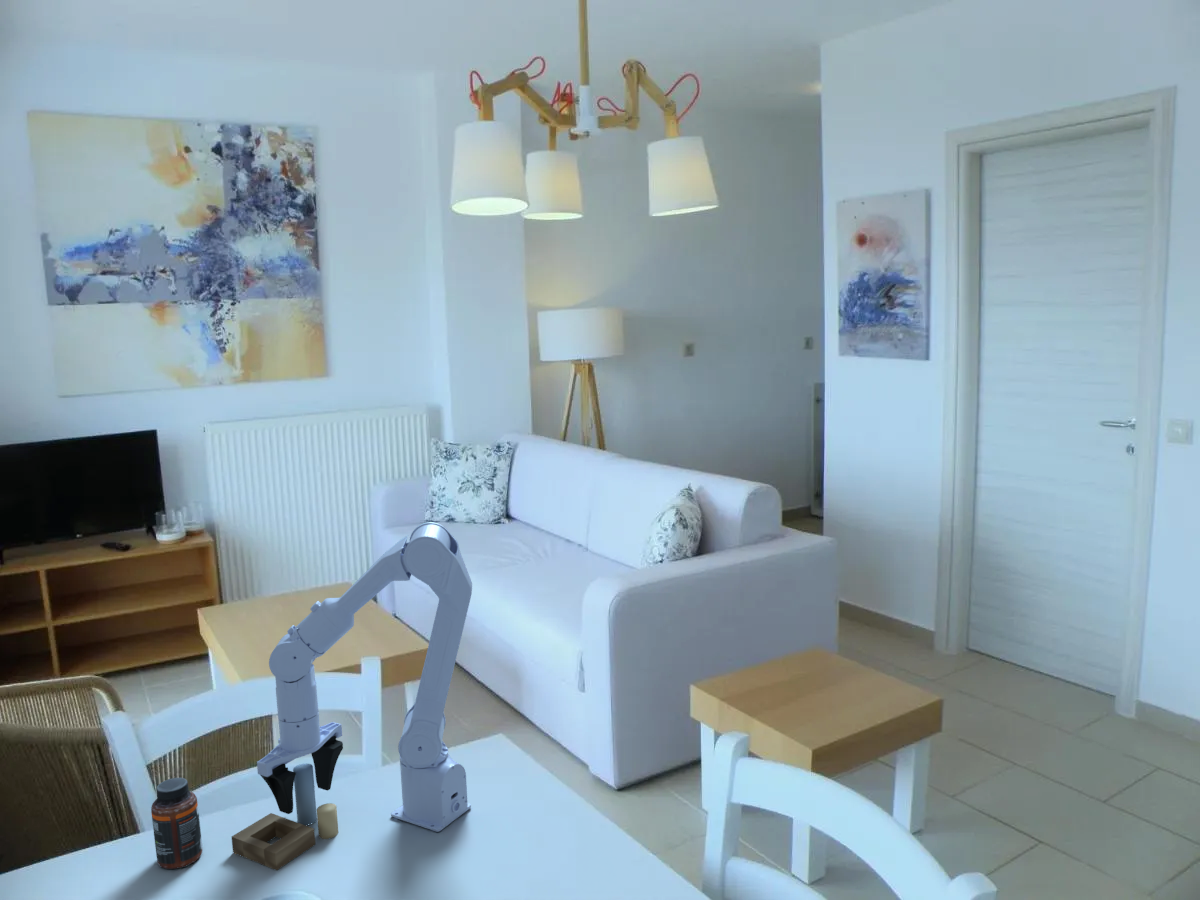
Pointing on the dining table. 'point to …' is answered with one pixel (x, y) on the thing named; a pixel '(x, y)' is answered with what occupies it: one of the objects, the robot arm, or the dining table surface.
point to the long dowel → (305, 794)
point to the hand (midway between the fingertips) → (305, 799)
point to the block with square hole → (280, 852)
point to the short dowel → (327, 821)
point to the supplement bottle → (176, 824)
